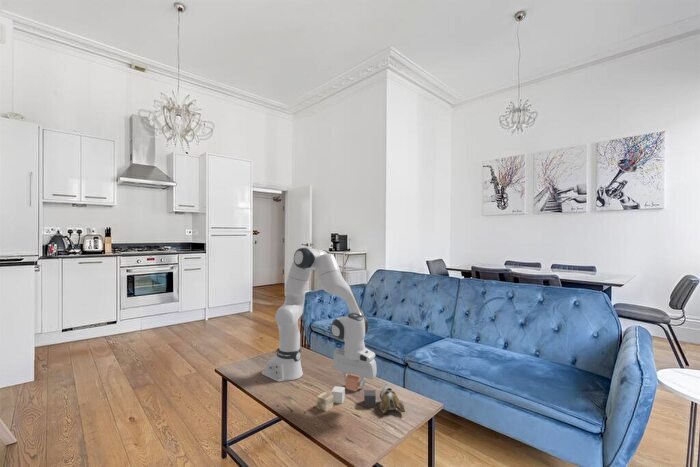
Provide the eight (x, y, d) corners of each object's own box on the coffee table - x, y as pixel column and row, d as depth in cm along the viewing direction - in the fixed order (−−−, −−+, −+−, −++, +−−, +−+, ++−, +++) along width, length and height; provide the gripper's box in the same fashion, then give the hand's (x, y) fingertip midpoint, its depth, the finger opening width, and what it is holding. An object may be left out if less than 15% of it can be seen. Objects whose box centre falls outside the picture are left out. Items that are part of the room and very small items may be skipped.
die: (359, 395, 151) (370, 375, 154) (343, 384, 153) (354, 365, 156) (358, 393, 159) (369, 374, 162) (343, 382, 161) (354, 364, 164)
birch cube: (317, 407, 138) (317, 396, 138) (324, 403, 142) (324, 392, 142) (325, 411, 135) (325, 400, 135) (333, 406, 139) (333, 395, 139)
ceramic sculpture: (397, 379, 147) (406, 398, 132) (397, 397, 147) (406, 418, 132) (374, 380, 146) (381, 399, 131) (374, 399, 146) (381, 420, 131)
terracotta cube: (345, 388, 137) (345, 376, 137) (350, 383, 141) (351, 372, 141) (355, 391, 134) (356, 379, 134) (361, 386, 139) (361, 375, 139)
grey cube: (331, 402, 143) (331, 391, 143) (334, 396, 148) (334, 386, 148) (342, 403, 142) (342, 392, 142) (344, 398, 147) (344, 387, 147)
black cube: (364, 406, 140) (364, 395, 140) (364, 400, 145) (364, 389, 145) (375, 407, 139) (375, 395, 139) (375, 401, 144) (375, 390, 144)
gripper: (330, 349, 140) (329, 380, 140) (372, 359, 130) (371, 393, 130) (337, 345, 145) (336, 375, 145) (378, 354, 136) (377, 386, 136)
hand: (353, 383), depth 138 cm, fingers closed on terracotta cube, 5 cm apart
